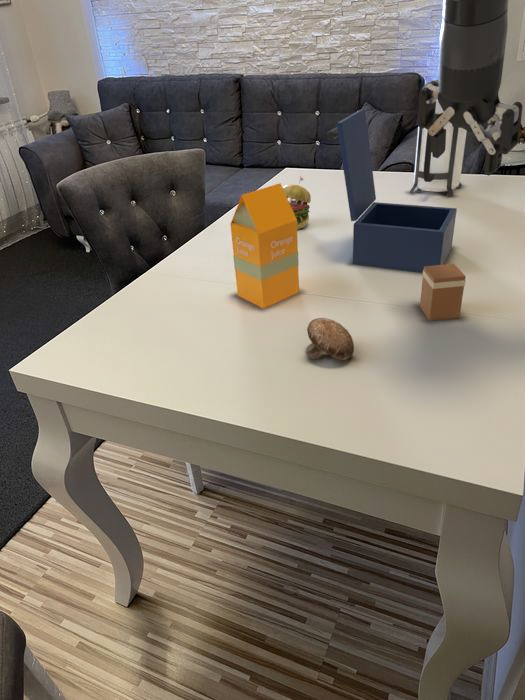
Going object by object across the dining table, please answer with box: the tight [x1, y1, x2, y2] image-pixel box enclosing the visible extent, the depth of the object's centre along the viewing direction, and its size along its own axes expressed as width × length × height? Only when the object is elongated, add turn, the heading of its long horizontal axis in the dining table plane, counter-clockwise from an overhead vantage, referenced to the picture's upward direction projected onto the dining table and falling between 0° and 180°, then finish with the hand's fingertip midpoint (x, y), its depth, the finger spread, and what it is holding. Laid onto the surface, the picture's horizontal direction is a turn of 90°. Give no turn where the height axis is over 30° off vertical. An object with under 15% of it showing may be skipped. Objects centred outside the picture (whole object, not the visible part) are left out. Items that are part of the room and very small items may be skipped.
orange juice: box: [229, 183, 300, 309], centre depth 94 cm, size 8×9×20 cm
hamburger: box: [282, 175, 312, 231], centre depth 126 cm, size 8×7×12 cm
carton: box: [419, 263, 466, 322], centre depth 88 cm, size 5×5×8 cm
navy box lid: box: [326, 108, 377, 222], centre depth 105 cm, size 18×14×5 cm
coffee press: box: [409, 79, 468, 198], centre depth 137 cm, size 17×16×30 cm
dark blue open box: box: [352, 201, 457, 274], centre depth 108 cm, size 17×14×9 cm
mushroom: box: [306, 317, 355, 361], centre depth 80 cm, size 8×8×6 cm
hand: (463, 163), depth 78 cm, fingers open, 8 cm apart
